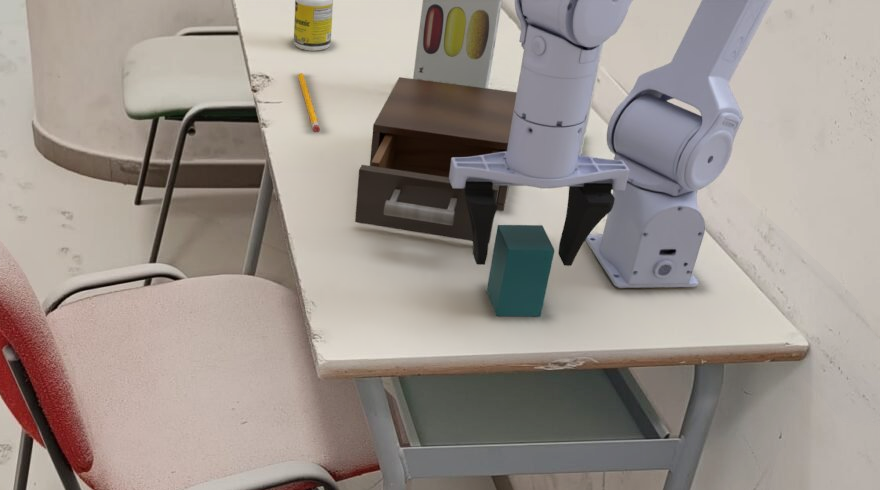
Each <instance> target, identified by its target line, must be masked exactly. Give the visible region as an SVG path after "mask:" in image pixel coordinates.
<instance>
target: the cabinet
mask: <svg viewBox="0 0 880 490" xmlns="http://www.w3.org/2000/svg"><path fill="white" fill-rule="evenodd" d="M516 94H517V91H511V90H510V91H509V90H502V89H496V88H495V89H494V88H489V87H488V88H480V87H472V86H464V85H456V84H449V83H441V82H433V81H425V80H418V79H413V78H411V77H410V78H408V77H401V76H399V77H398V79H397V81H396V82H395V84H394V86H393V87H392V90H391V91H390V93H389V94H388V97H387V99H386V100H385V103H384V105H383V106H382V107H381V110H380V112H379V113H378V114H377V115H378V116H377V117H376V118H375V121H374V122H373V125H372V134H371V135H372V136H371V146H370V158H369V159H370V160H369V166H371V162H372V160H373V158H374V156H375V154H376V152H377V150H378V148H379V146H380V144H381V142H382V141H383V139H384V137H385V135H386V133H388V134H395V135H402V136H410V137H417V138H424V139H431V140H438V141H445V142H452V143H459V144H466V145H473V146H480V147H488V148H495V149H502V152H505V151H507V147H508V141H509V135H510V129H511V123H512V118H513V112H514V106H515V100H516ZM509 188H510V186H505V185H499V190H498V196H497V202H496V203H497V205H498V207H497V210H496V211H500V212H501V211H502V212H504V211H505V206H506V202H507V198H508V193H509Z"/></svg>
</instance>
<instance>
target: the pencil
mask: <svg viewBox="0 0 880 490" xmlns="http://www.w3.org/2000/svg"><path fill="white" fill-rule="evenodd" d="M303 73H304V72H298V75H297V78H298V80H299V85H300V88H301V92H302V94H303V98H304V102H305V105H306V109H307V111H308V112H307V113H308V116H309V120H310V123H311V126H312V130H313V132H314V133H319V132H320V130H321V129H320V126H319V125H320V124H319V122H318V119H317V115H316V111H315V109H314V105H313V102H312V98H311V95H310V91H309V88H308V84H307V82H306V78H305V75H304V74H303Z"/></svg>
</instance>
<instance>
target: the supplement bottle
mask: <svg viewBox="0 0 880 490" xmlns="http://www.w3.org/2000/svg"><path fill="white" fill-rule="evenodd" d="M333 6H334V0H295V1H294V23H293V24H294V27H293V44H294V46H295V47H297V48H298V49H301V50H305V51H310V52H311V51H312V52H316V51H323V50H326V49H328V48H330V46H331V43H332V29H333V28H332V25H333V10H334V7H333Z"/></svg>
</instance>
